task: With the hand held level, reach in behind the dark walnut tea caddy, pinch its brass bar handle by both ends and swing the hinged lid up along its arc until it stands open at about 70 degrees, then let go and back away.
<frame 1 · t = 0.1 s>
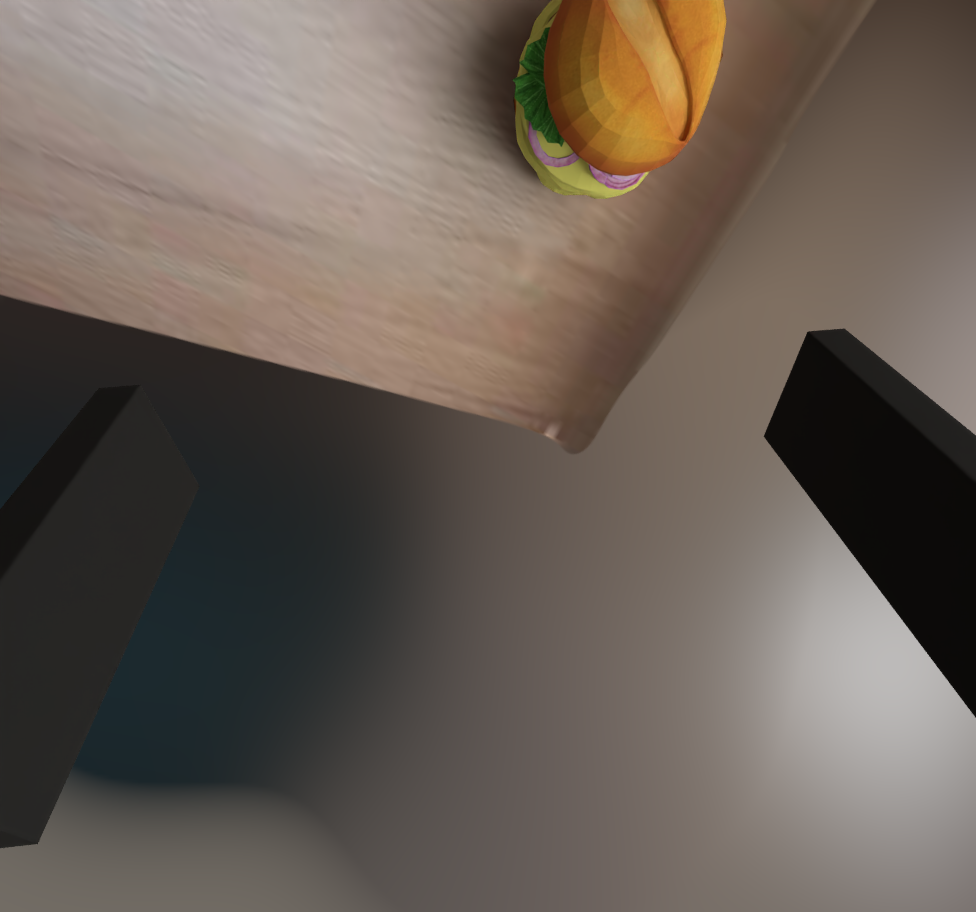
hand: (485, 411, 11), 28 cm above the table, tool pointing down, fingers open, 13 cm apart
cheeseburger: (590, 82, 31), on the table
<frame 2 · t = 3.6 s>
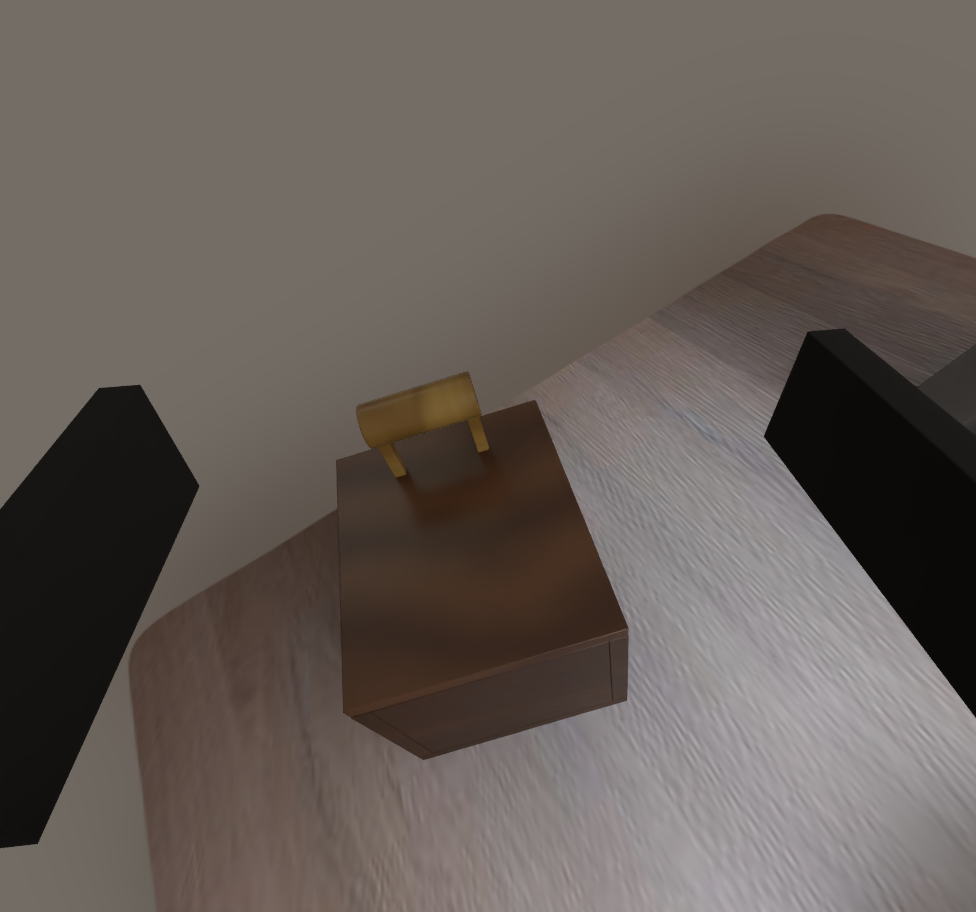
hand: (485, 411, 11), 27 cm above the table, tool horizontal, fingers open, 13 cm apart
lid: (444, 504, 25), point 14 cm above the table, hinge at 0.0°
caddy: (499, 622, 36), on the table
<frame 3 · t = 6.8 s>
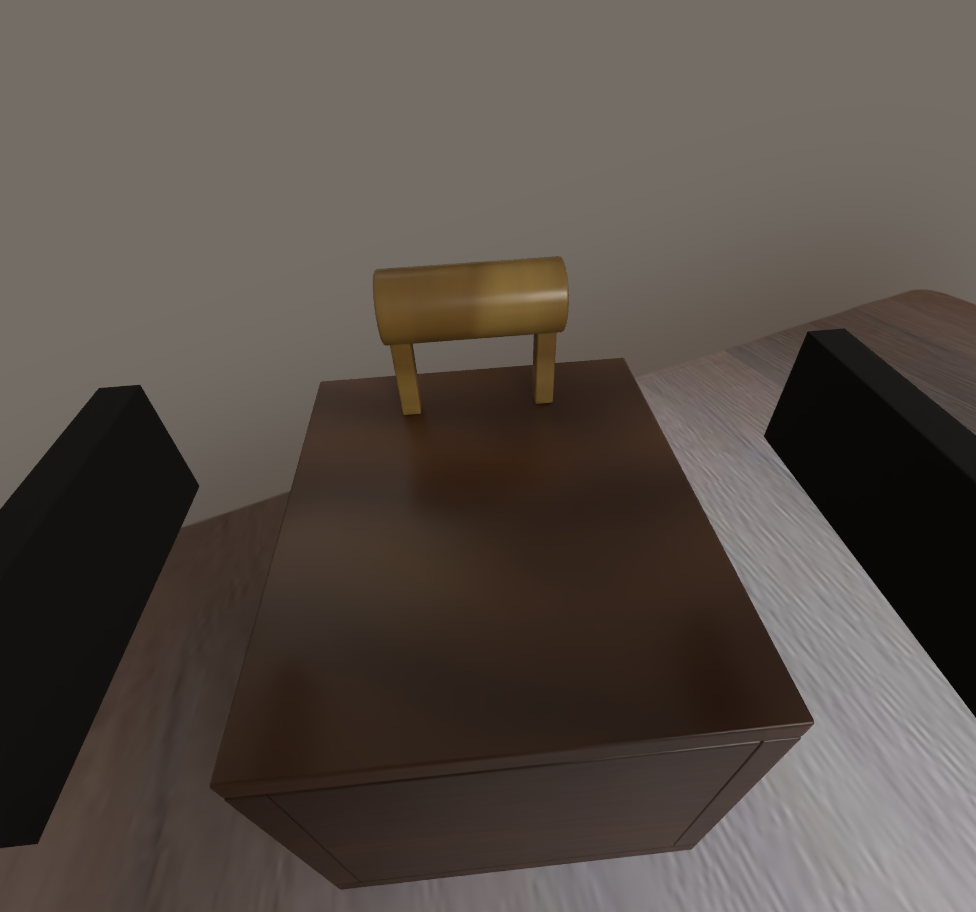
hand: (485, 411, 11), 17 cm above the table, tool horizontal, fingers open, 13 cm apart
lid: (485, 441, 15), point 14 cm above the table, hinge at 0.0°
caddy: (499, 680, 24), on the table
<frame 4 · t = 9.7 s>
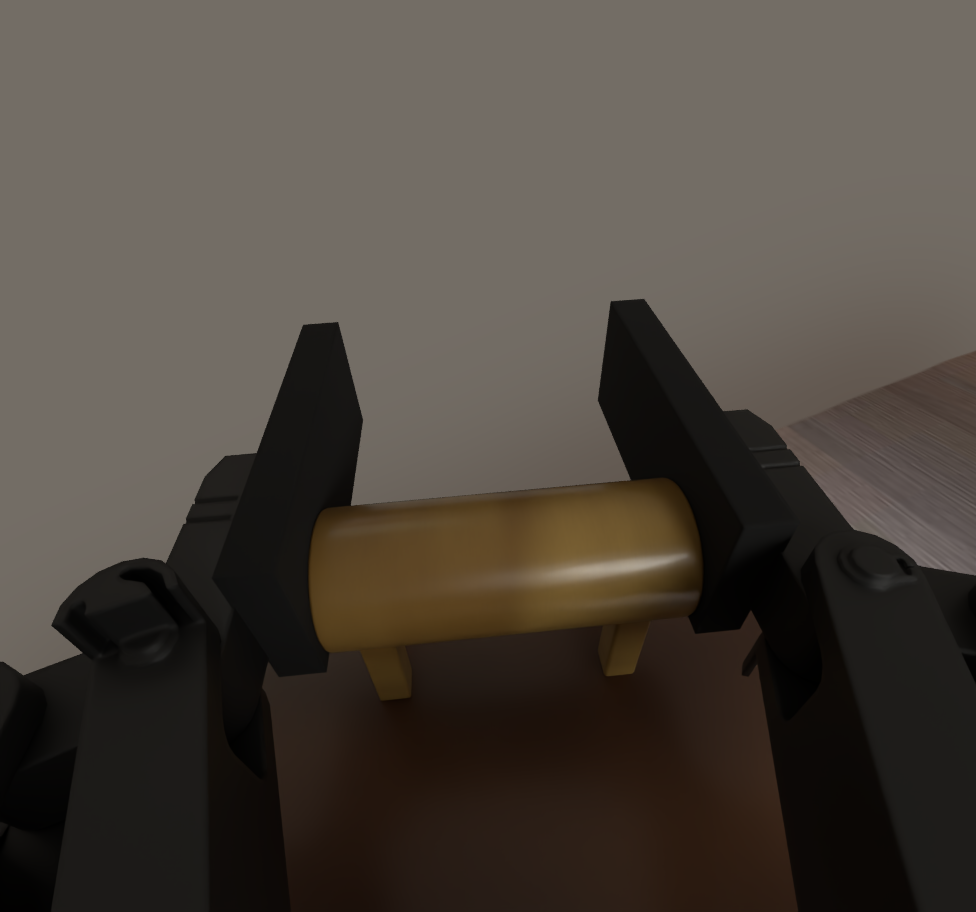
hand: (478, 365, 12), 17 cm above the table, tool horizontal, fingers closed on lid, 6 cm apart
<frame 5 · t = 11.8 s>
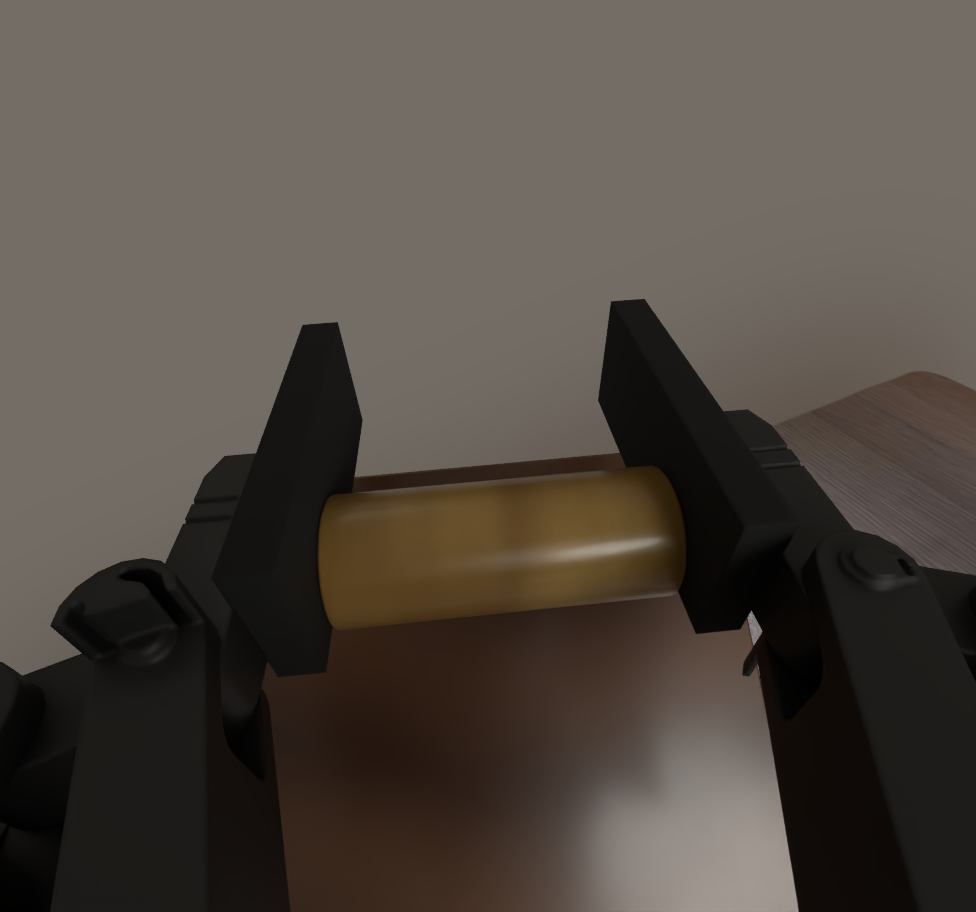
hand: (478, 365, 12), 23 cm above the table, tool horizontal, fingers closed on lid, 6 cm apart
lid: (522, 803, 10), point 18 cm above the table, hinge at 33.9°, touching gripper
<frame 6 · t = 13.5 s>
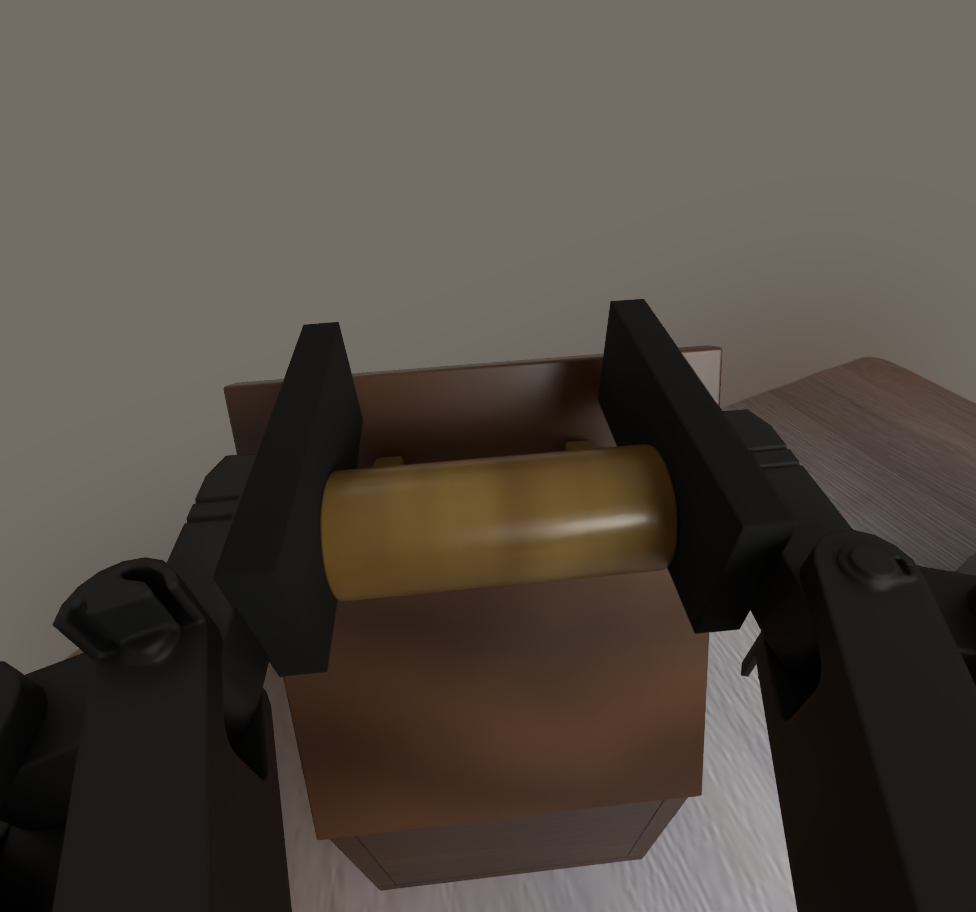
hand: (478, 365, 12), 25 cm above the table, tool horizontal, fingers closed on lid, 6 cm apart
lid: (504, 674, 13), point 19 cm above the table, hinge at 63.1°, touching gripper
caddy: (497, 724, 30), on the table
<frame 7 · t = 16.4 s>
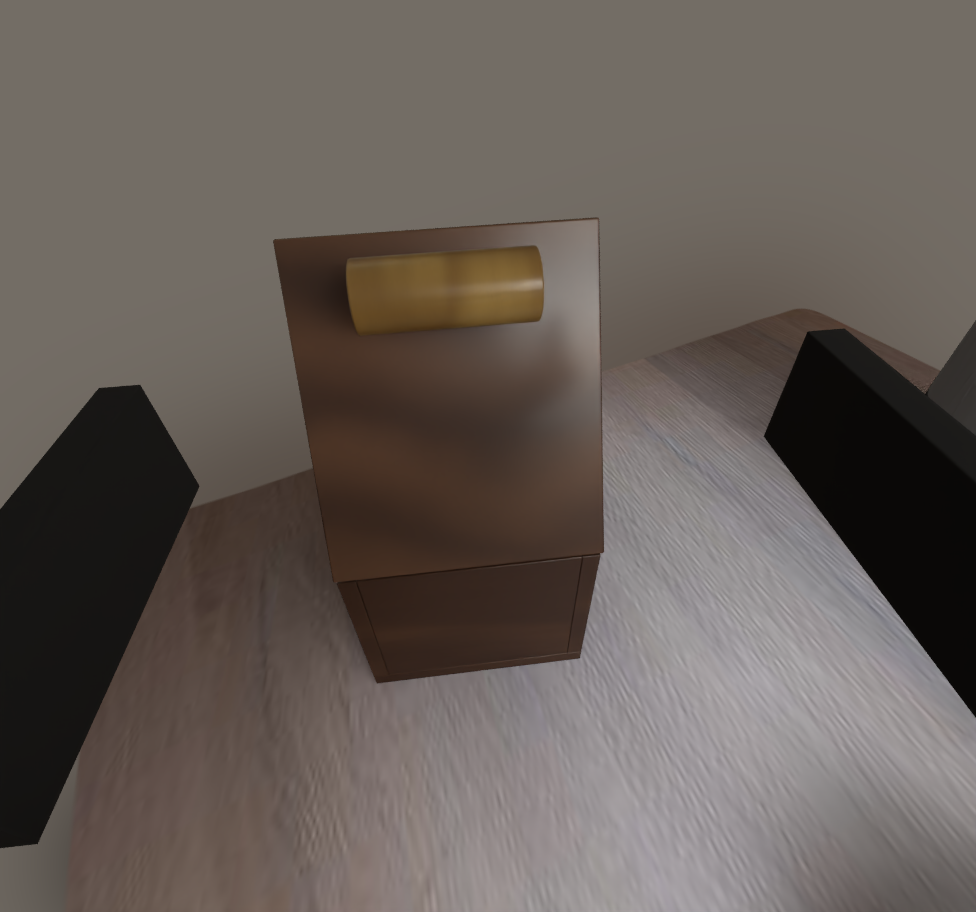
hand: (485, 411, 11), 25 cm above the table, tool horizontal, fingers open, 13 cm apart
lid: (458, 424, 20), point 19 cm above the table, hinge at 63.0°
caddy: (469, 577, 38), on the table
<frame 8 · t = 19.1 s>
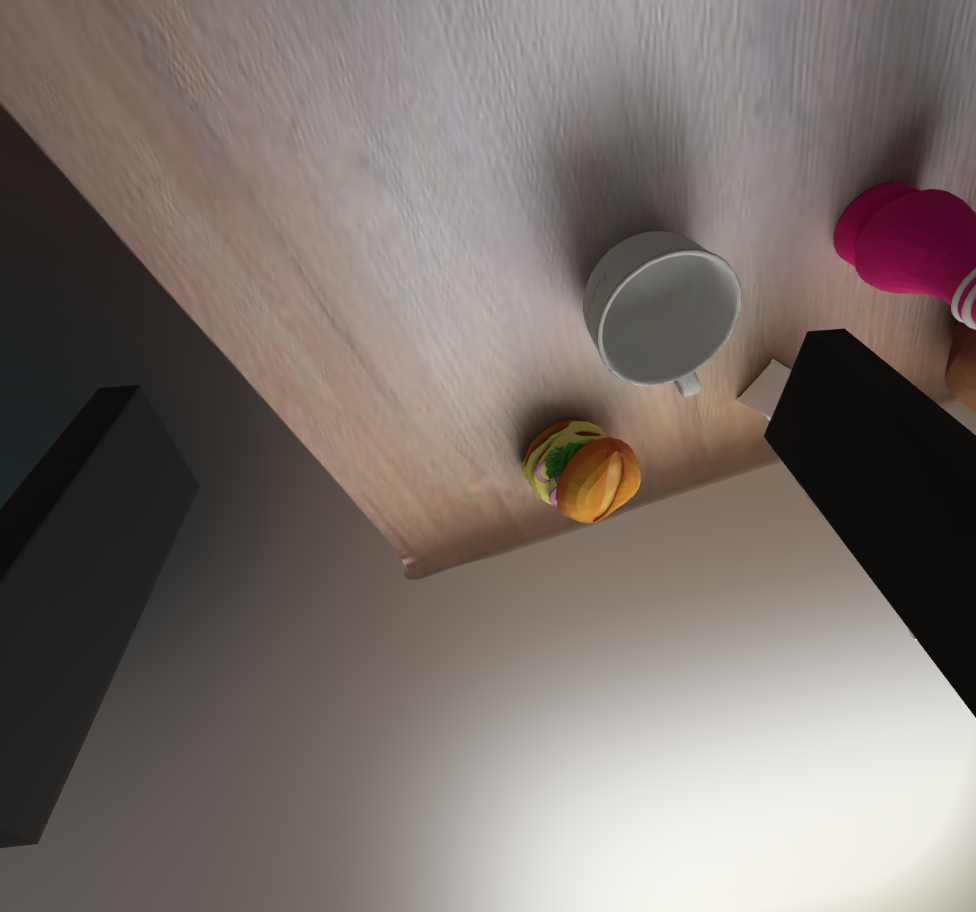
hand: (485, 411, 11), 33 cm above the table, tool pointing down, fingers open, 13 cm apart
pepper mill: (871, 222, 43), on the table
teacup: (639, 296, 45), on the table
cheeseburger: (571, 446, 56), on the table
skyscraper: (773, 387, 53), on the table
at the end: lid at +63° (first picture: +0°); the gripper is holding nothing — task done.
